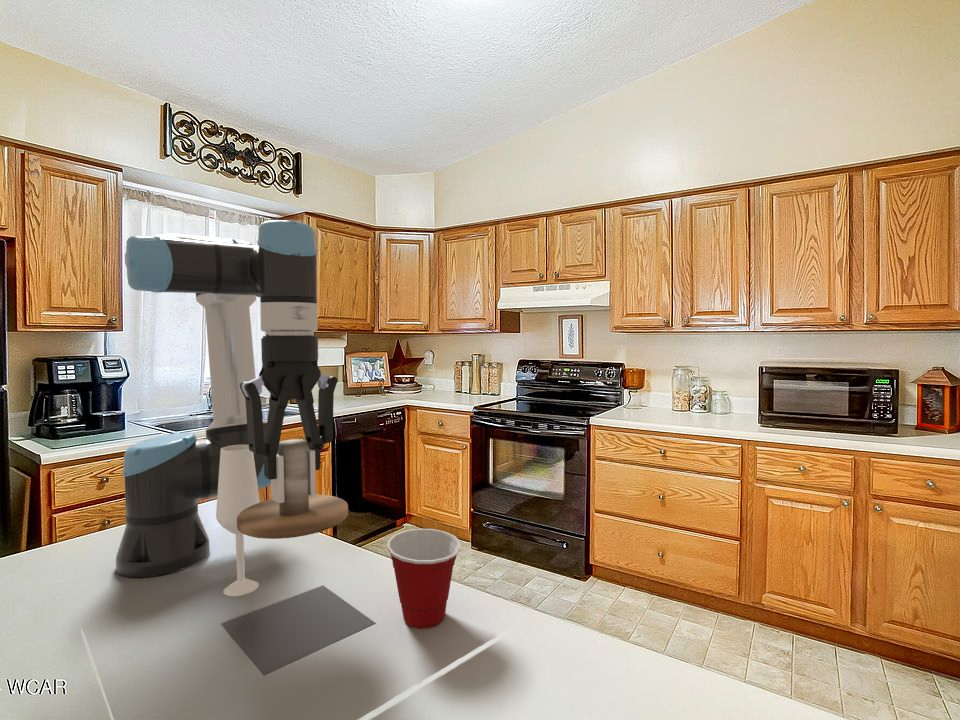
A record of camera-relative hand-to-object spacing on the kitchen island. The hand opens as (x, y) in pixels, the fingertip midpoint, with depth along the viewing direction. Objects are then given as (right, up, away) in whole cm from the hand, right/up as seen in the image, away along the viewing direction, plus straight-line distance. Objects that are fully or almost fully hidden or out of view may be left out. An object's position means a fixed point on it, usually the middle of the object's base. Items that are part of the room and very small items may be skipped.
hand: (293, 496), depth 73 cm
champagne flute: (-13, -19, +11) cm, 26 cm away
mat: (0, -19, +1) cm, 19 cm away
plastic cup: (+19, -19, +2) cm, 27 cm away
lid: (0, -3, 0) cm, 3 cm away
